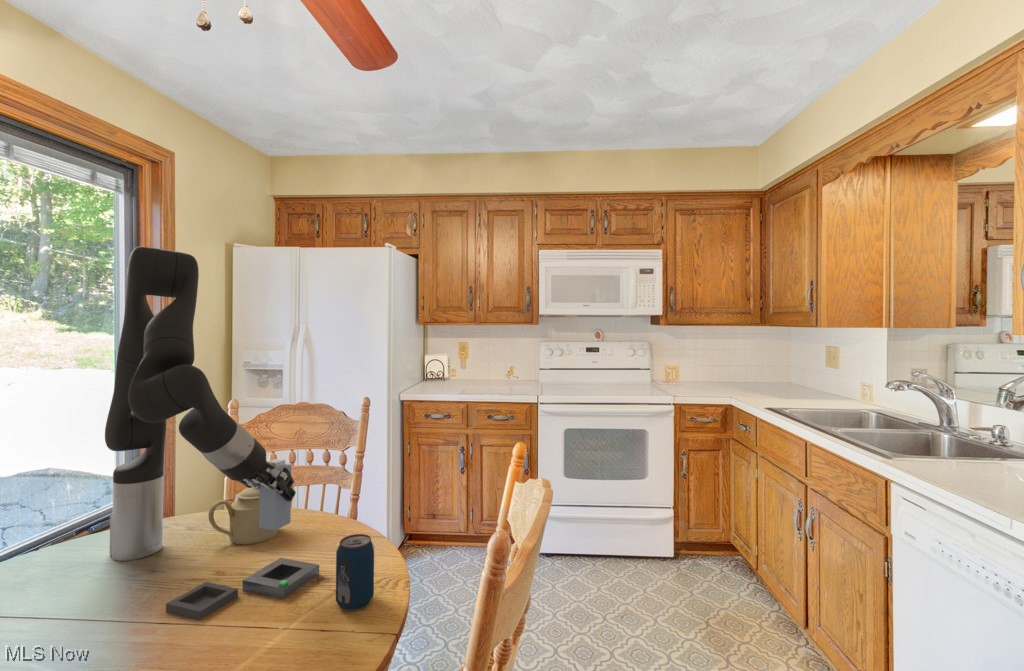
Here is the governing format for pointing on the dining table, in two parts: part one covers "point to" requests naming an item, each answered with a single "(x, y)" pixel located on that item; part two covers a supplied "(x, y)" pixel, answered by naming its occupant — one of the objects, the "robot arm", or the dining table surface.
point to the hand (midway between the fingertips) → (282, 495)
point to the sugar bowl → (243, 519)
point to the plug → (274, 503)
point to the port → (280, 578)
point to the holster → (202, 600)
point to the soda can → (354, 572)
